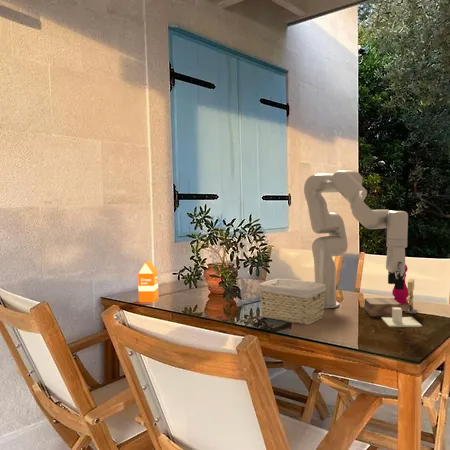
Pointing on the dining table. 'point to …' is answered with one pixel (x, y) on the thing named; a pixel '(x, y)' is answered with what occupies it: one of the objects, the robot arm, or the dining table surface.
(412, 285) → the key
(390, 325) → the cover
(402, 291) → the pepper mill
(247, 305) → the dining table surface
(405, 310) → the silver metal disc
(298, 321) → the storage basket
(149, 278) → the orange juice
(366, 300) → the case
